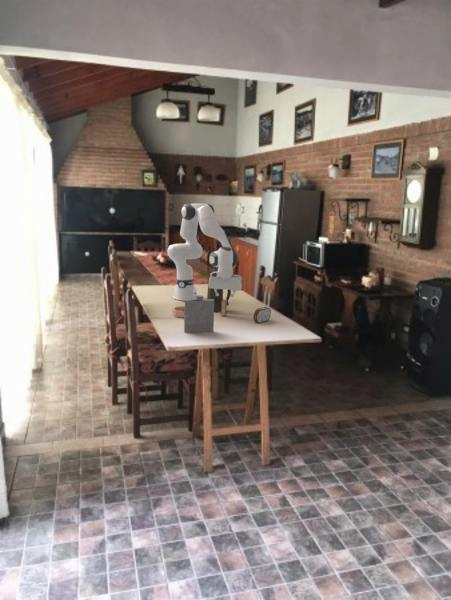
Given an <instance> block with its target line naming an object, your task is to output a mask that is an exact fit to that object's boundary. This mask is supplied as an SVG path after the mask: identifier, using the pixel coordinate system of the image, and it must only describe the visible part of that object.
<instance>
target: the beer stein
mask: <svg viewBox="0 0 451 600" xmlns="http://www.w3.org/2000/svg"><path fill="white" fill-rule="evenodd" d="M208 284H209V279H207V285H208ZM217 292H218V293H219V296H216V293H215V291H214V289H212V288H209V287H208V286H207V295H206V296H207V297H206V299H214V313H218V312H219V313H220V312H221V309H222V300H223V299H224V289H217ZM226 294H227V295H226V298H225V299H226V300H227V307H228V306H229V305H230V303H229V300H230V298H231V294H232V290H227V293H226Z"/></svg>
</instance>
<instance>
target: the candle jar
mask: <svg viewBox="0 0 451 600" xmlns="http://www.w3.org/2000/svg"><path fill="white" fill-rule="evenodd" d="M171 312H172V315H173V316H174V317H176V318H182V319H184V315H185V305H183V306H181V305H180V306H175V307H173V308H172V310H171Z"/></svg>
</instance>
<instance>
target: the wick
mask: <svg viewBox="0 0 451 600" xmlns="http://www.w3.org/2000/svg"><path fill="white" fill-rule="evenodd" d="M227 307H228V306H227V300H226V298H225V299H224V298H223V300H222V309H221V311H220V312H221V313H220V315H221V317H223V318H225V317H227V309H228V308H227Z"/></svg>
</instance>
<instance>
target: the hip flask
mask: <svg viewBox="0 0 451 600" xmlns="http://www.w3.org/2000/svg"><path fill="white" fill-rule="evenodd" d="M184 306H185V315H184V318H183V320H184V324H183V327H184V328H183V333H187V334H189V333H190V334H194V333H195V334H199V333H200V334H201V333H204V332H206V333H214V325H215V324H214V323H215V322H214V321H215V317H214V316H215V312H214V299H207V298H206V299H205V298H204V295H202V294H198V295H197V299H190V300H185V301H184Z"/></svg>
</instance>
